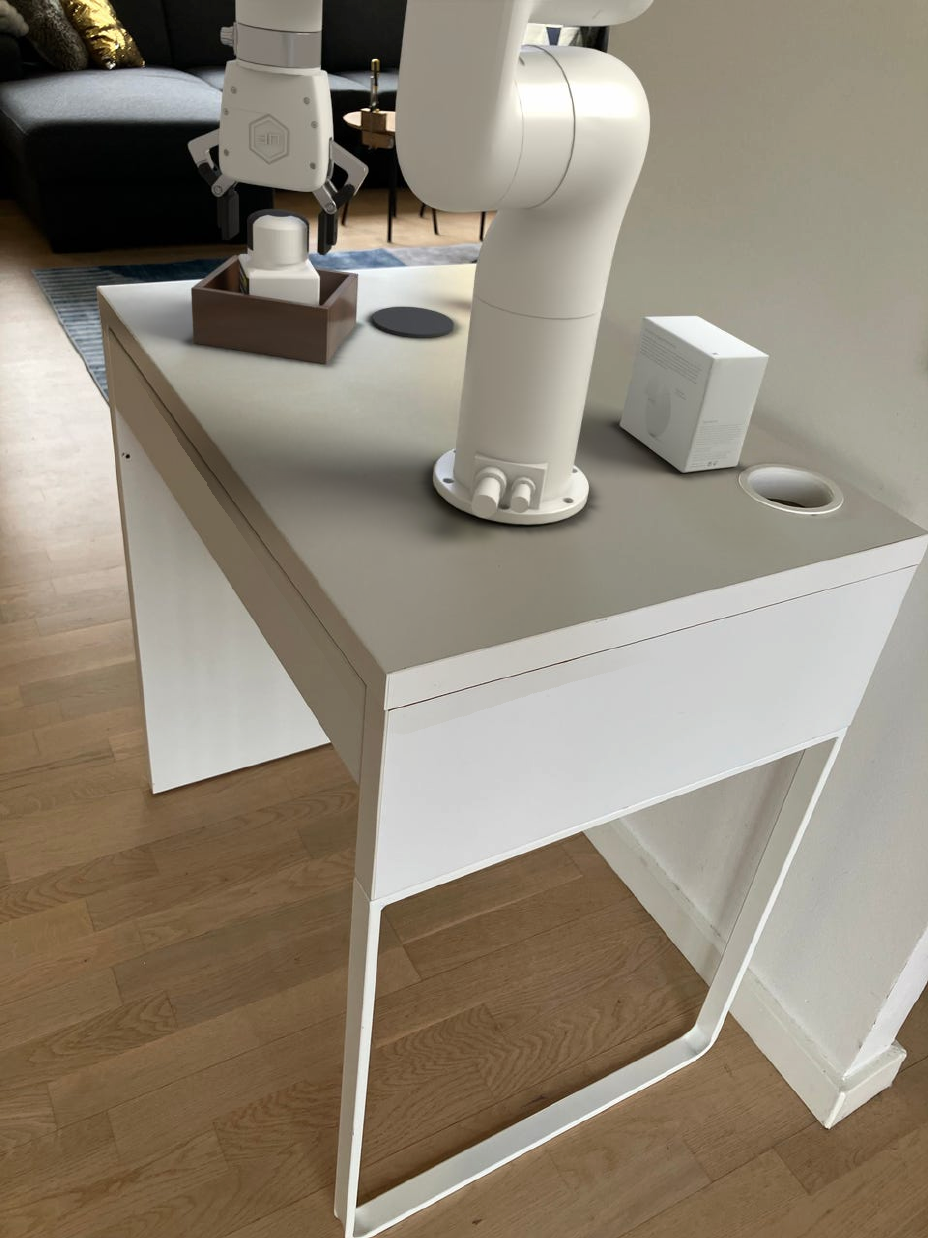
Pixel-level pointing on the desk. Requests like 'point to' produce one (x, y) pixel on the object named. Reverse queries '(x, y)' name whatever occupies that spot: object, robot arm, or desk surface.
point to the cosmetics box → (692, 392)
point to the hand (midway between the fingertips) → (277, 243)
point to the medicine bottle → (278, 258)
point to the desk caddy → (274, 316)
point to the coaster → (413, 322)
